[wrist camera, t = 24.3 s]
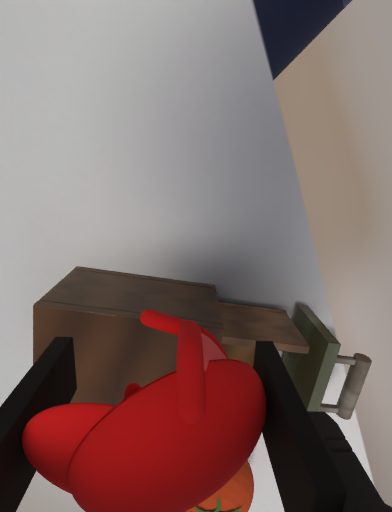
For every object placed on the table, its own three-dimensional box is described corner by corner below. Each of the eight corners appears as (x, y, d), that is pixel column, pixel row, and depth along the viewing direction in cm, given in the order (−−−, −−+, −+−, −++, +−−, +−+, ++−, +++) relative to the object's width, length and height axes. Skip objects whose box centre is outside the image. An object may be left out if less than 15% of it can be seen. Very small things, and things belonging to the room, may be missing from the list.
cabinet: (214, 285, 35) (224, 328, 25) (197, 377, 38) (200, 445, 29) (76, 266, 33) (32, 304, 24) (72, 362, 37) (32, 429, 28)
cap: (248, 292, 13) (297, 391, 7) (254, 403, 15) (298, 556, 9) (65, 311, 13) (-33, 426, 7) (93, 420, 15) (31, 585, 9)
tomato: (254, 463, 43) (274, 550, 33) (187, 482, 43) (186, 572, 34) (233, 409, 40) (248, 486, 30) (162, 430, 40) (154, 512, 31)
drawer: (347, 310, 35) (391, 350, 27) (320, 392, 38) (353, 447, 31) (183, 288, 34) (181, 324, 26) (169, 375, 37) (165, 428, 29)
